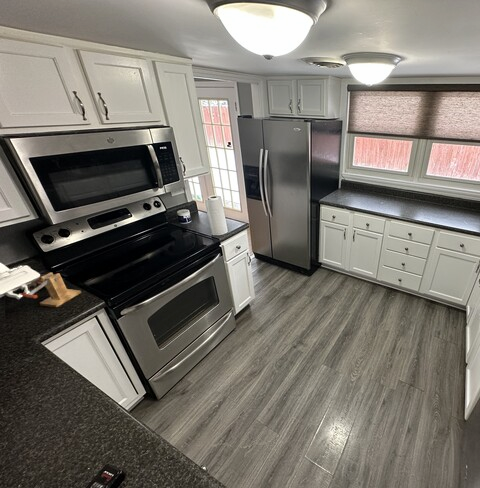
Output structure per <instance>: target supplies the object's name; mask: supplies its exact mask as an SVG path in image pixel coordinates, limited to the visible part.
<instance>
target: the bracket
mask: <svg viewBox="0 0 480 488" xmlns="http://www.w3.org/2000/svg"><path fill="white" fill-rule="evenodd" d="M43 275H44V276H42V277H41V278H40V280H42V281H43V282H45V281H46V279H45V278H47V277H48V276H49V275H53V276H51V277H49V278H48V279H49V281H50V282H49V283H48V284H46V285H45V286H44V287H45V289H46V291H47V292H48V294H49V297H48V298H46V299H44V300H43V301H40V302H39V305H40V306H43V307H51V308H58V307H60V306H62V305H63V304H65V303H66V302H68V301H70V300H71V299H73V298H75V297H76V296H78V295H79V294H82V291H81V290H80V289H79V290H78V289H70V288H67V286H66V284H65V282H64V280H63V278H62V276H61V274H60V273H55V274H54V273H53V272H48V273H46V274H43Z"/></svg>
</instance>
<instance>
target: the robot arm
mask: <svg viewBox="0 0 480 488" xmlns="http://www.w3.org/2000/svg"><path fill="white" fill-rule="evenodd" d="M40 274H41V273H39V272H38V271H36V270H34V269H32V268H31V266H29V265H25V264H23V265H21V264H20V265H17V266H16V267H13V268H9V267H8V266H6V265H5V264H3V262H0V298H2V297H5V296H7V297H9V298H15V299H16V300H21V299H23V298H24V297H23V295H21V294H20V293H14V292H16V291H17V290H20V289H21V290H22V291H23V290H24V291H23V293H24V294H28V293H30V291H29V290H28V287H27V285H28V284H30V283H32V282H34V281H37V280H38V279H41V278H40Z"/></svg>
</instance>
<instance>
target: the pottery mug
mask: <svg viewBox="0 0 480 488" xmlns="http://www.w3.org/2000/svg"><path fill="white" fill-rule="evenodd" d="M39 274H40V278H39V279H38V280H37V281H34V282H32V283H30V284H28V285H27V287H28V290H29V291H30V292H31V291H32V290H34V289H35V288H37V284H39V285H41V284H42V283H43V281H42V279H41V277H42V276H44V275H45V274H43V273H42V274H41V273H39Z"/></svg>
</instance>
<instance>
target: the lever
mask: <svg viewBox="0 0 480 488" xmlns="http://www.w3.org/2000/svg"><path fill="white" fill-rule="evenodd" d="M53 275H54V274H53ZM53 275H49V276H48V277H47V278H45V279H46V281H45V282H43V283H42V284H39V285H38V286H36V287H35V289H34V290H32V291H31V292H30V293H28V294H24V292H19V294H21V295H23V298H29V299H37V298H38V295H37V294H35V293H37V292H39V290H41V289H42V288H44V287H45V285H46V284H48V283H49V282H50V281H49V279H48V278H49V277H51V276H53Z"/></svg>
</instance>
